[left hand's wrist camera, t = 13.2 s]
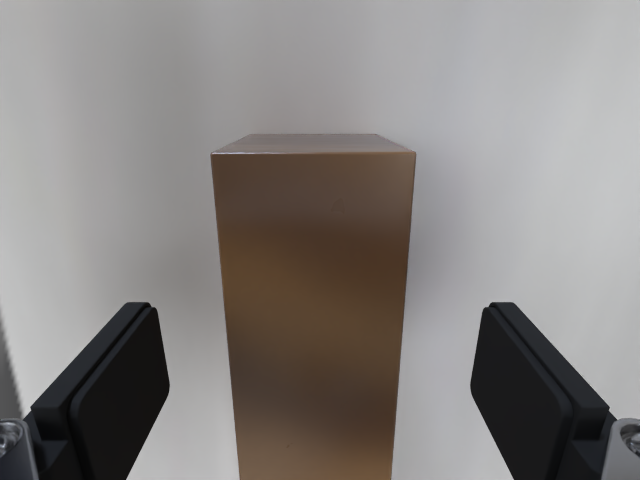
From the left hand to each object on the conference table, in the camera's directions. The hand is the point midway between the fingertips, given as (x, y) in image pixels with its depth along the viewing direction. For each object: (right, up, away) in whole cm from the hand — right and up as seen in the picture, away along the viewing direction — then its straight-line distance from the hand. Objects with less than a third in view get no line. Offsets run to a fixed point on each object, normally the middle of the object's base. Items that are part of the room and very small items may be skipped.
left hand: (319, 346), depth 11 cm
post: (0, -20, +15) cm, 25 cm away
